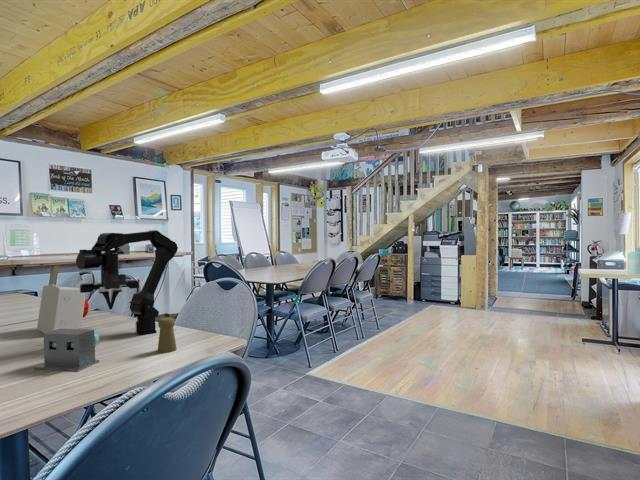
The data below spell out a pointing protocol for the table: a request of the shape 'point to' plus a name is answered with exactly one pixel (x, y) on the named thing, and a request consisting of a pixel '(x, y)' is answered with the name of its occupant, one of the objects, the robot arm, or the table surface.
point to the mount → (69, 350)
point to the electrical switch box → (61, 308)
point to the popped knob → (95, 339)
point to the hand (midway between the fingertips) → (110, 309)
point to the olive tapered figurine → (166, 335)
